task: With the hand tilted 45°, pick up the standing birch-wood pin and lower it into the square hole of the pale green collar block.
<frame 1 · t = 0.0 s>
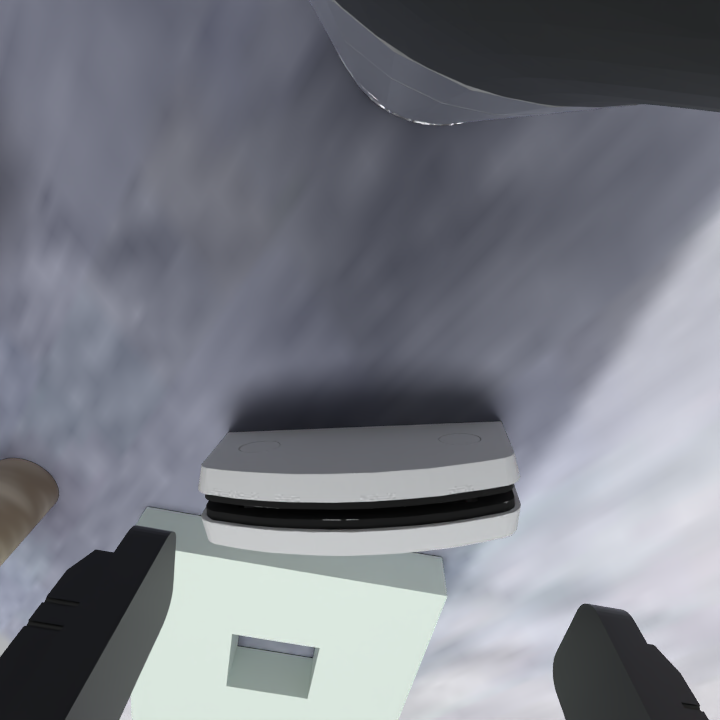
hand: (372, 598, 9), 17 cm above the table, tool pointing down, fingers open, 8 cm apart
collar block: (279, 627, 36), on the table
birch pin: (24, 485, 31), on the table
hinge: (363, 439, 29), on the table
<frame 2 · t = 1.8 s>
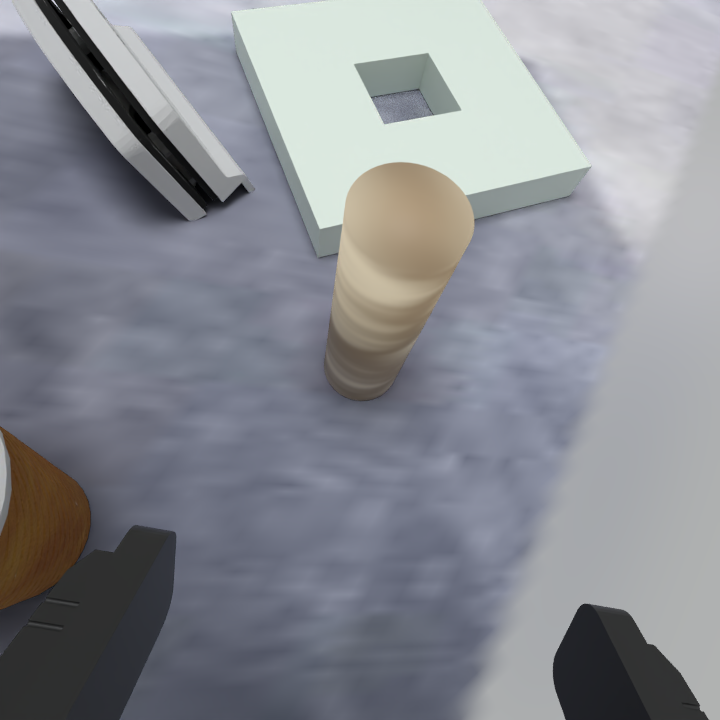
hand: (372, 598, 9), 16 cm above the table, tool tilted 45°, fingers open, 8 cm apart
collar block: (399, 122, 37), on the table
disposable coffee cup: (24, 531, 24), on the table
birch pin: (360, 365, 29), on the table
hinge: (149, 137, 34), on the table
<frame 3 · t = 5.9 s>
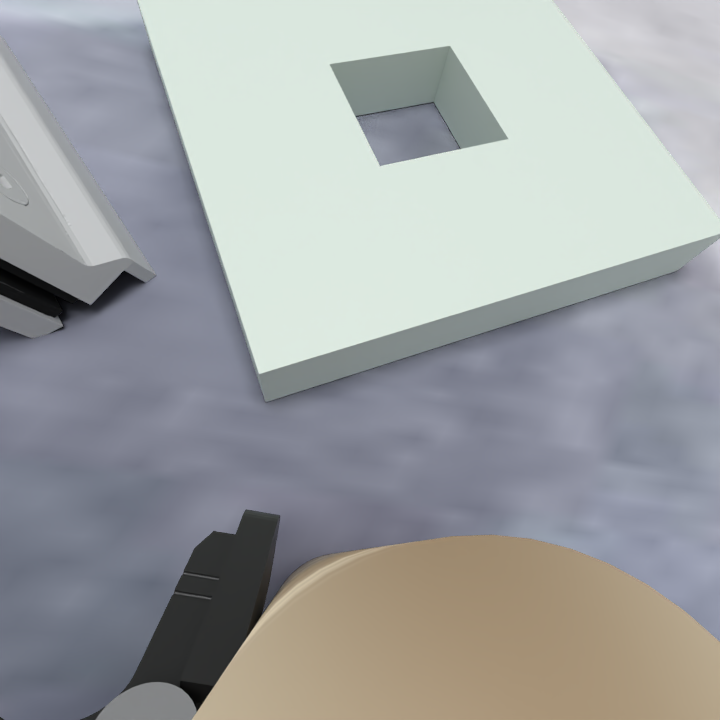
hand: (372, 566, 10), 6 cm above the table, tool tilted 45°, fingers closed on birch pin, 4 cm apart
collar block: (404, 154, 23), on the table
birch pin: (336, 627, 15), on the table, touching gripper
when the fingers open (8 cm above the table, at t = 11.3 s): birch pin drops 1 cm, resting in collar block.
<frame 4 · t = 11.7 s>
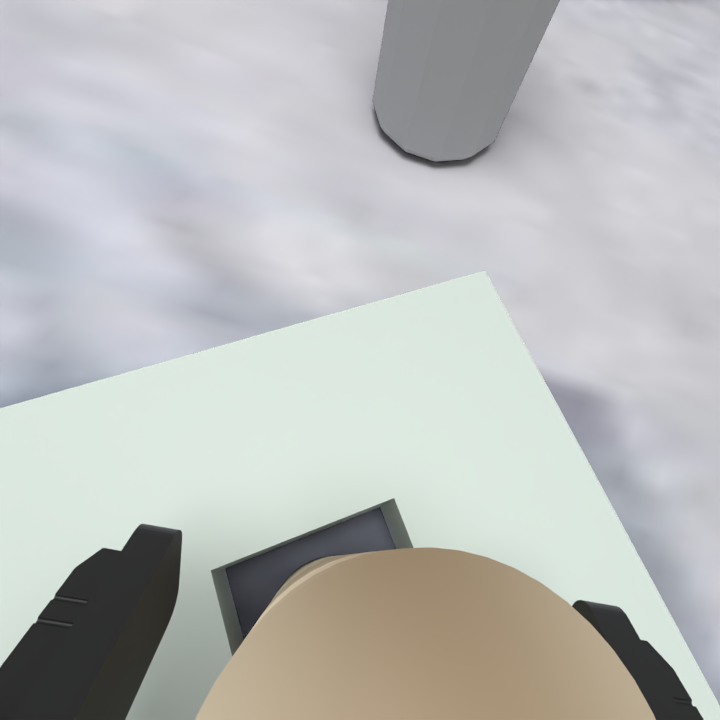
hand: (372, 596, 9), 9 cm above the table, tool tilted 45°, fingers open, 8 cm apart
collar block: (333, 621, 17), on the table
birch pin: (332, 624, 17), resting in collar block
water bottle: (432, 112, 27), on the table
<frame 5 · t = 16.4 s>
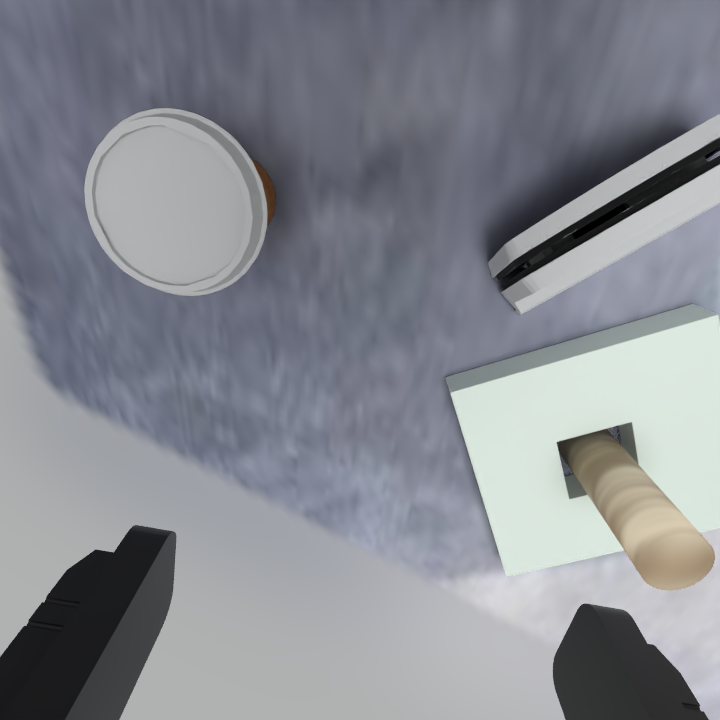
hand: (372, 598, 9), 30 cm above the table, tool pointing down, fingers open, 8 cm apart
collar block: (584, 442, 42), on the table
disposable coffee cup: (234, 197, 36), on the table
birch pin: (583, 442, 42), resting in collar block
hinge: (591, 216, 36), on the table
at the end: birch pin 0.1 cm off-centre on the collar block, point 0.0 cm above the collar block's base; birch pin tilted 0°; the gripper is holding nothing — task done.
